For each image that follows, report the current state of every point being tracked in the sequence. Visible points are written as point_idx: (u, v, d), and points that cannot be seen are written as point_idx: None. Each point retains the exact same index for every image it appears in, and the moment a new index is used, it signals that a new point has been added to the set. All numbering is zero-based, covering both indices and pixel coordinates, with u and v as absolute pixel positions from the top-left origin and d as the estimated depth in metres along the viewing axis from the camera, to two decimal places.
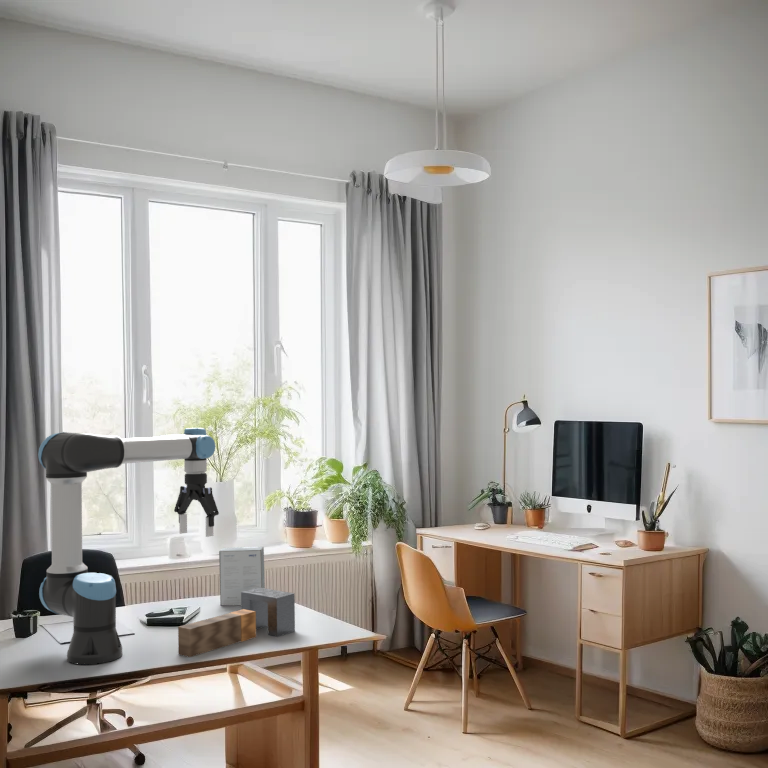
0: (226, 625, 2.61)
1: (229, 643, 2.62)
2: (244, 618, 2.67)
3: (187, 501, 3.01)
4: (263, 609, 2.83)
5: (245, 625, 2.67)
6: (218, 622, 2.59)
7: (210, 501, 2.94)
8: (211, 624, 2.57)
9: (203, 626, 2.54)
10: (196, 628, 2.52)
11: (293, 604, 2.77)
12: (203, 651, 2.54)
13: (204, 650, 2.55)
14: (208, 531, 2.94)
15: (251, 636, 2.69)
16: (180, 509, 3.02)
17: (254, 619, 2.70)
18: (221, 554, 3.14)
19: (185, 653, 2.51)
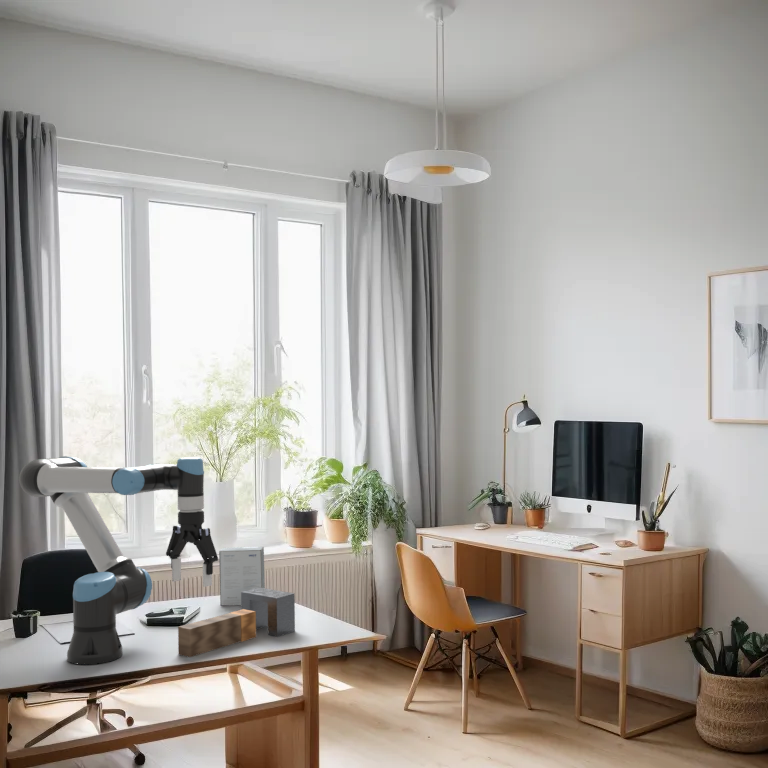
0: (226, 625, 2.61)
1: (229, 643, 2.62)
2: (244, 618, 2.67)
3: (181, 544, 2.56)
4: (263, 609, 2.83)
5: (245, 625, 2.67)
6: (218, 622, 2.59)
7: (208, 545, 2.49)
8: (211, 624, 2.57)
9: (203, 626, 2.54)
10: (196, 628, 2.52)
11: (293, 604, 2.77)
12: (203, 651, 2.54)
13: (204, 650, 2.55)
14: (206, 580, 2.50)
15: (251, 636, 2.69)
16: (173, 553, 2.58)
17: (254, 619, 2.70)
18: (221, 554, 3.14)
19: (185, 653, 2.51)
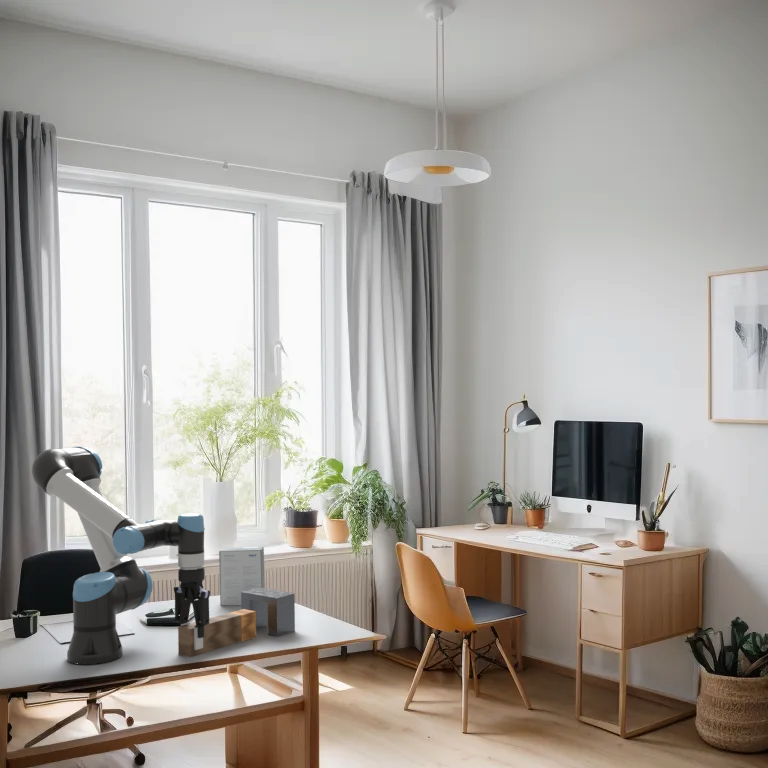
0: (226, 625, 2.61)
1: (229, 643, 2.62)
2: (244, 618, 2.67)
3: (185, 603, 2.55)
4: (263, 609, 2.83)
5: (245, 625, 2.67)
6: (218, 622, 2.59)
7: (204, 608, 2.50)
8: (211, 624, 2.57)
9: None
10: None
11: (293, 604, 2.77)
12: (203, 651, 2.54)
13: (204, 650, 2.55)
14: (197, 643, 2.52)
15: (251, 636, 2.69)
16: (181, 616, 2.55)
17: (254, 619, 2.70)
18: (221, 554, 3.14)
19: (185, 653, 2.51)
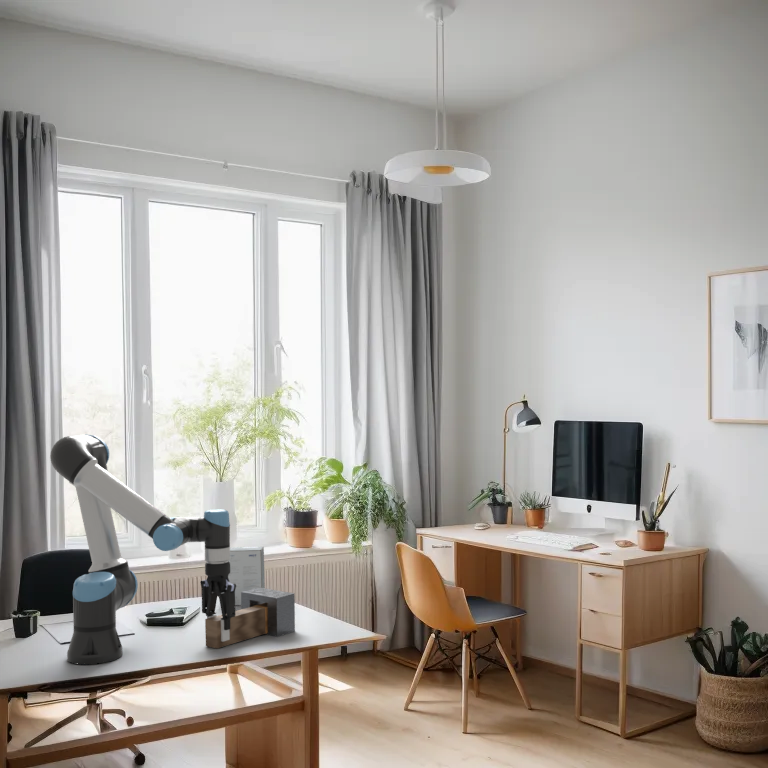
0: (251, 617, 2.69)
1: (254, 635, 2.70)
2: None
3: (212, 596, 2.63)
4: None
5: None
6: (243, 615, 2.67)
7: (230, 601, 2.58)
8: (237, 616, 2.65)
9: None
10: None
11: (293, 604, 2.77)
12: (229, 643, 2.62)
13: (231, 641, 2.62)
14: (224, 635, 2.59)
15: None
16: (207, 609, 2.63)
17: None
18: None
19: (213, 644, 2.59)
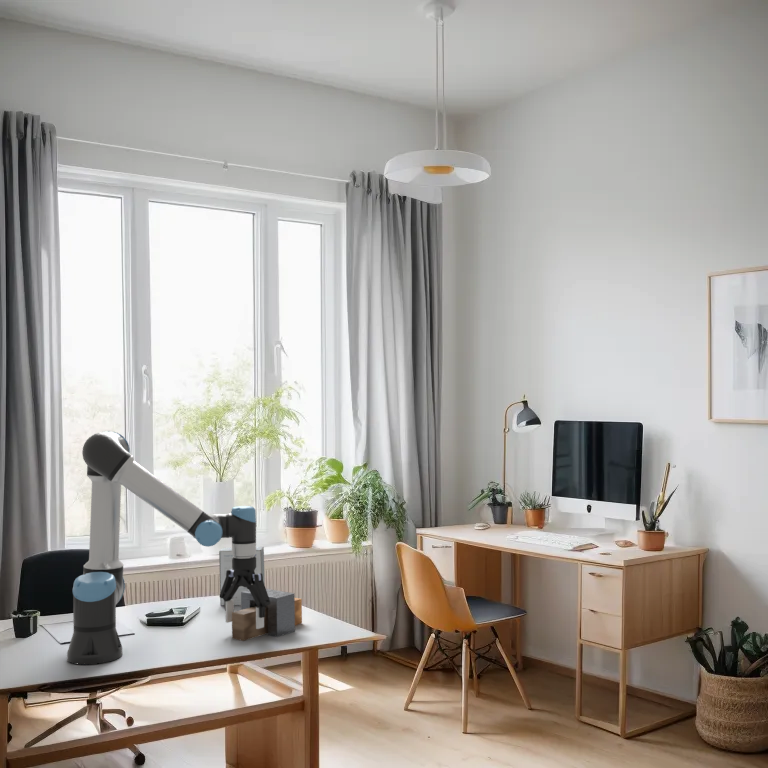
0: None
1: None
2: None
3: (234, 587, 2.73)
4: None
5: None
6: None
7: (261, 589, 2.66)
8: None
9: (255, 612, 2.71)
10: (249, 614, 2.69)
11: (293, 604, 2.77)
12: (255, 635, 2.71)
13: (256, 634, 2.71)
14: (258, 622, 2.66)
15: (298, 622, 2.86)
16: (226, 595, 2.74)
17: (300, 606, 2.87)
18: (221, 554, 3.14)
19: (239, 637, 2.68)
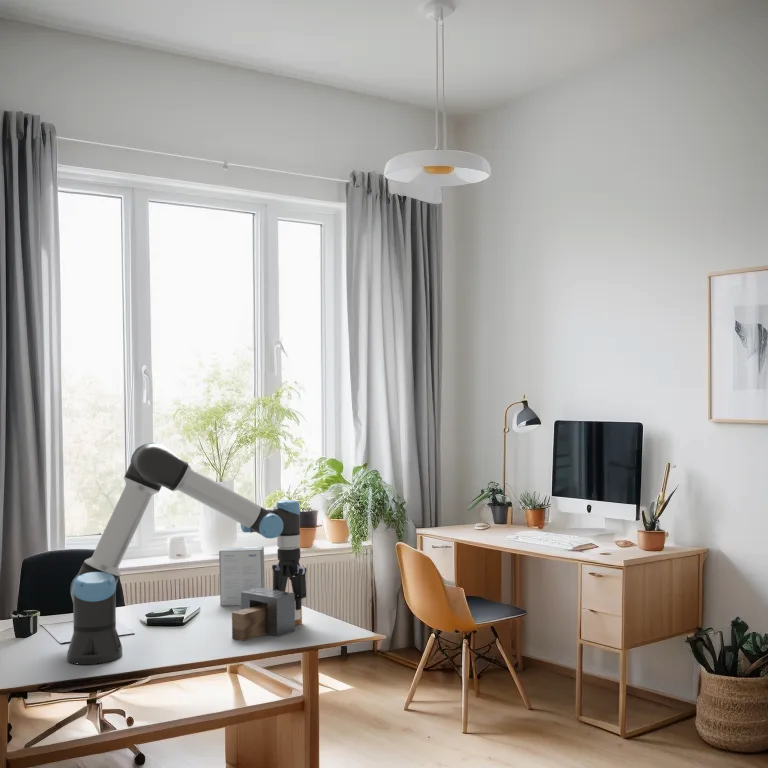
0: None
1: None
2: None
3: (283, 579, 2.87)
4: None
5: None
6: None
7: (301, 583, 2.83)
8: (262, 610, 2.73)
9: (255, 612, 2.71)
10: (249, 613, 2.69)
11: (293, 604, 2.77)
12: (255, 635, 2.71)
13: (256, 634, 2.71)
14: (295, 614, 2.84)
15: (297, 622, 2.86)
16: None
17: None
18: (222, 554, 3.14)
19: (239, 637, 2.68)
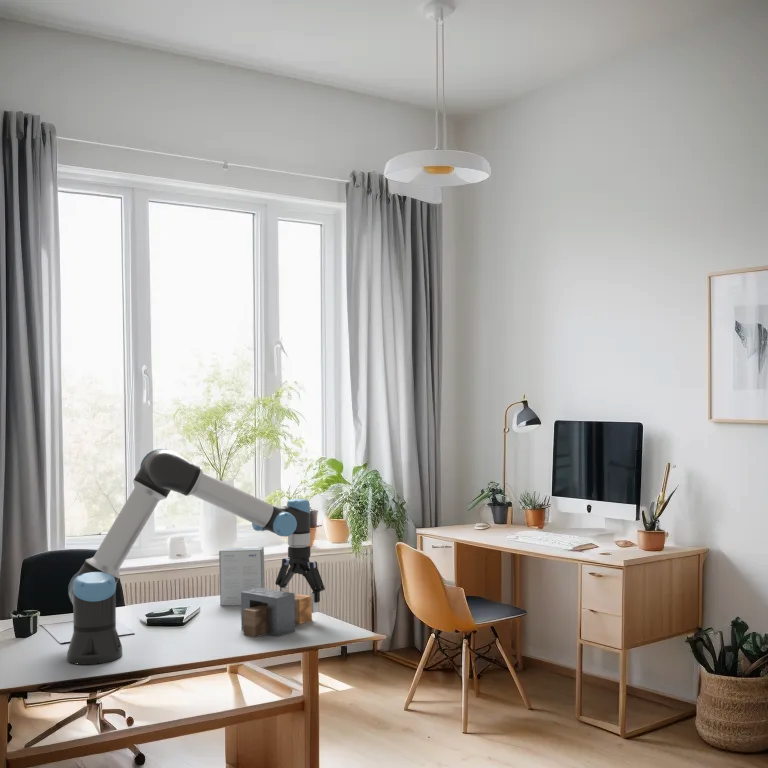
0: None
1: None
2: (302, 602, 2.88)
3: (290, 574, 2.92)
4: None
5: (302, 609, 2.88)
6: None
7: (316, 576, 2.85)
8: None
9: (266, 609, 2.75)
10: (260, 610, 2.73)
11: (293, 604, 2.77)
12: (266, 632, 2.75)
13: (267, 631, 2.75)
14: (314, 607, 2.86)
15: (308, 619, 2.90)
16: (282, 582, 2.94)
17: (310, 603, 2.91)
18: (221, 554, 3.14)
19: (251, 633, 2.72)
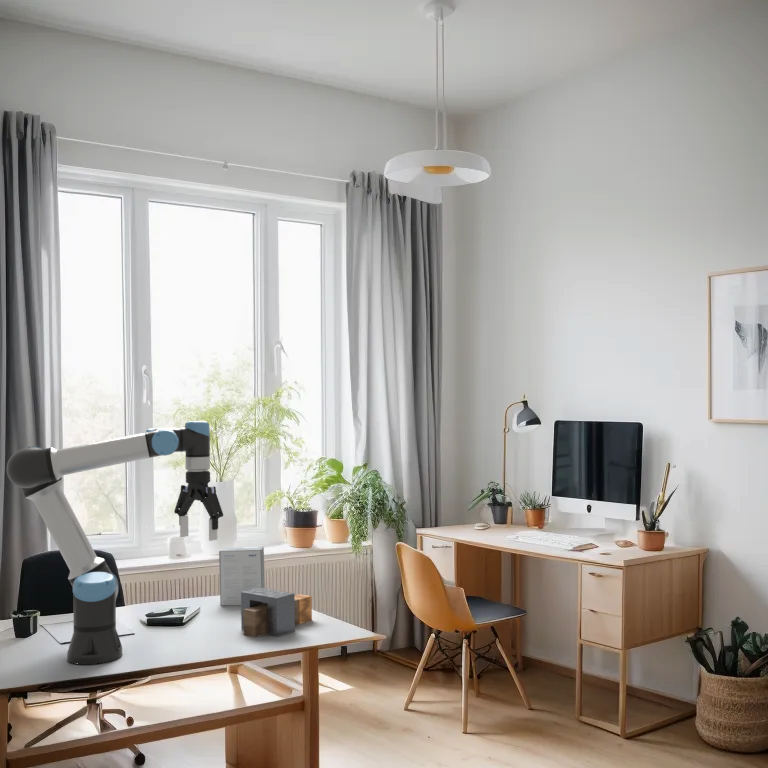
0: None
1: None
2: (302, 602, 2.88)
3: (188, 501, 2.74)
4: None
5: (302, 609, 2.88)
6: None
7: (214, 501, 2.67)
8: None
9: (266, 609, 2.75)
10: (260, 610, 2.73)
11: (293, 604, 2.77)
12: (266, 632, 2.75)
13: (267, 631, 2.75)
14: (211, 534, 2.67)
15: (308, 619, 2.90)
16: (181, 510, 2.76)
17: (310, 603, 2.91)
18: (221, 554, 3.14)
19: (251, 633, 2.72)
